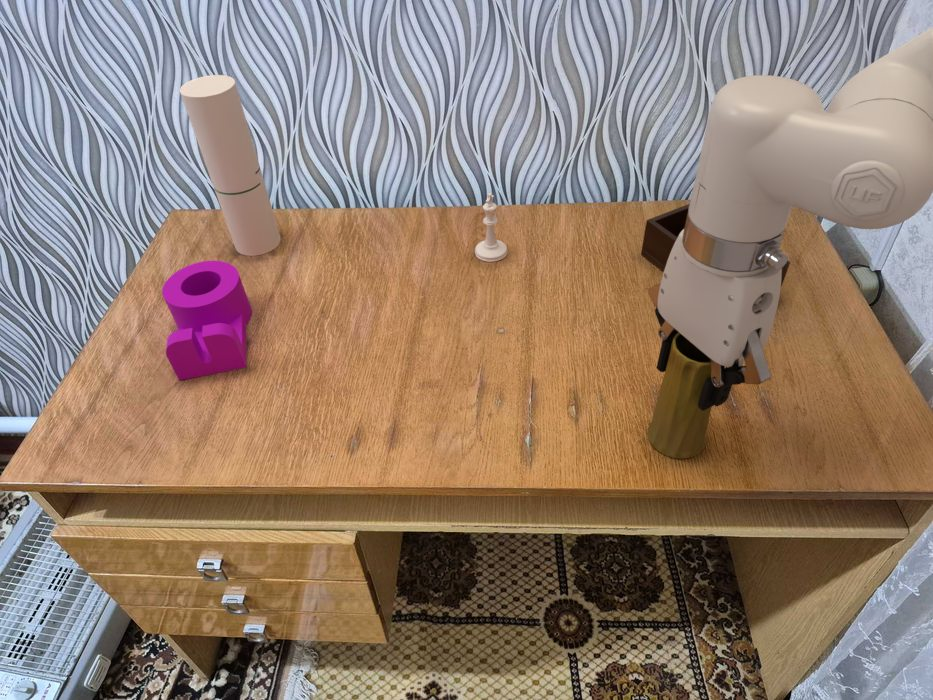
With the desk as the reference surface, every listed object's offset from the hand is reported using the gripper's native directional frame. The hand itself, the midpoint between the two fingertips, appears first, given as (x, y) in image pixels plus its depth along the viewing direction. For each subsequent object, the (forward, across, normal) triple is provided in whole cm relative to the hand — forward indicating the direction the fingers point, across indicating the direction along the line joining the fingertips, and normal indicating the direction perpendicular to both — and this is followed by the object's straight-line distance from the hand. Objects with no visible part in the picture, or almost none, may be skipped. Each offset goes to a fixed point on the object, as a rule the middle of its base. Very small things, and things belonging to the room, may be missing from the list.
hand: (690, 383), depth 67 cm
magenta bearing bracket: (+9, +45, +41) cm, 62 cm away
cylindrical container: (+9, +63, +30) cm, 70 cm away
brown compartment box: (+9, +20, -23) cm, 32 cm away
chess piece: (+9, +41, 0) cm, 42 cm away
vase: (+9, 0, 0) cm, 9 cm away
